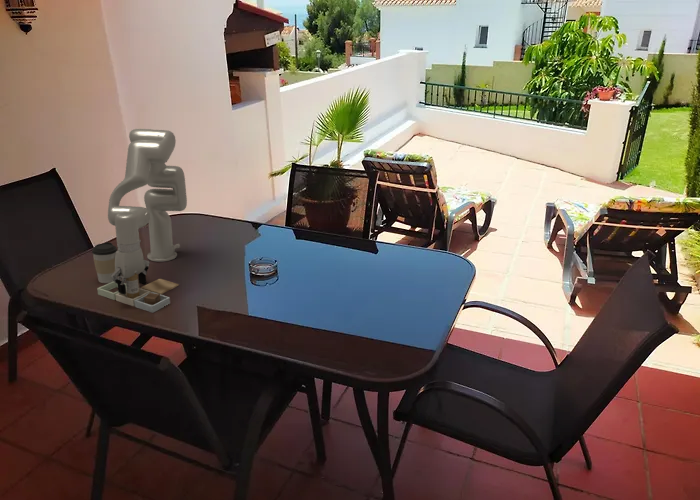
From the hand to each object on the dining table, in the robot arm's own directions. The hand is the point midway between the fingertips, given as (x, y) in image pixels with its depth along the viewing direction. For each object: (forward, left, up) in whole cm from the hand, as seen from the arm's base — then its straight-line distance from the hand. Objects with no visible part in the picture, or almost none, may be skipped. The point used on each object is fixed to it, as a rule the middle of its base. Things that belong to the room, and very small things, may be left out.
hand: (132, 288), depth 194 cm
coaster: (-13, 0, -4) cm, 14 cm away
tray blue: (0, +9, -4) cm, 10 cm away
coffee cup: (-7, -22, -5) cm, 23 cm away
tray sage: (0, -10, -4) cm, 10 cm away
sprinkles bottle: (0, 0, -5) cm, 5 cm away
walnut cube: (0, +9, -4) cm, 11 cm away
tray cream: (0, 0, -4) cm, 4 cm away
